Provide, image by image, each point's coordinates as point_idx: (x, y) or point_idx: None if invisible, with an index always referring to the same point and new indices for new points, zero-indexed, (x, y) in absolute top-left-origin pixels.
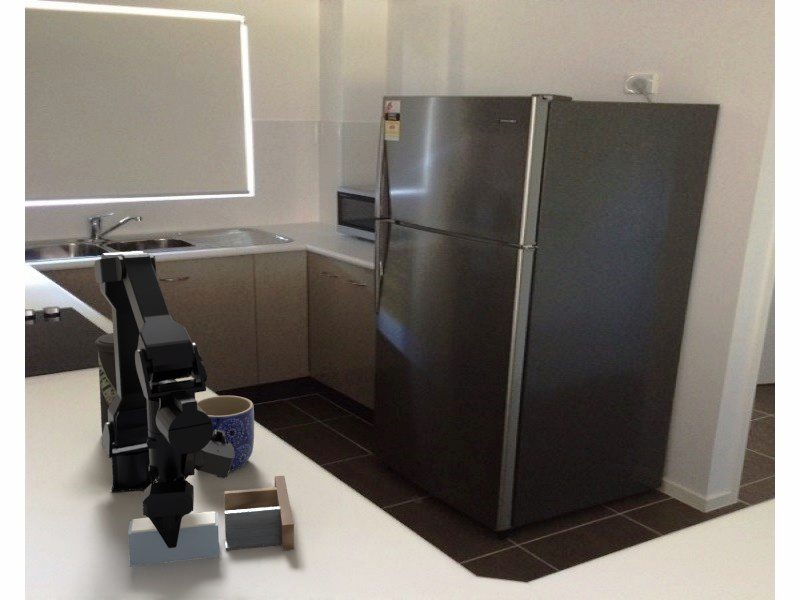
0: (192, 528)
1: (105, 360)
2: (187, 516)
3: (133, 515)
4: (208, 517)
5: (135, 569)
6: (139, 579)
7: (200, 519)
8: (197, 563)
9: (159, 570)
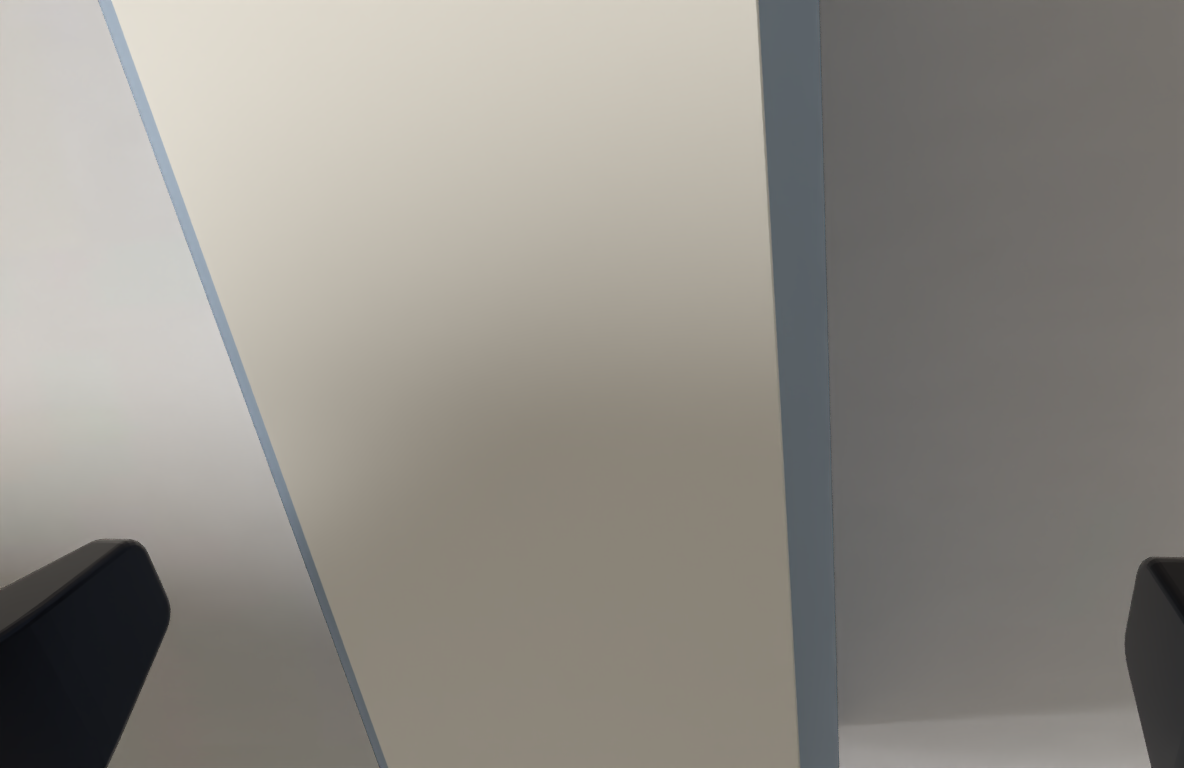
0: (822, 397)
1: None
2: (398, 524)
3: None
4: (419, 92)
5: (903, 690)
6: (1109, 658)
7: (532, 279)
8: (935, 98)
9: (984, 506)
